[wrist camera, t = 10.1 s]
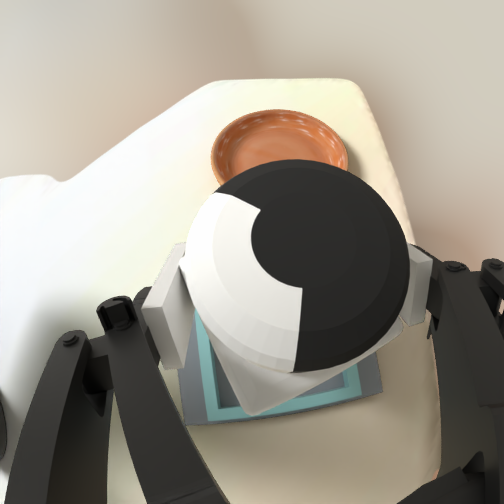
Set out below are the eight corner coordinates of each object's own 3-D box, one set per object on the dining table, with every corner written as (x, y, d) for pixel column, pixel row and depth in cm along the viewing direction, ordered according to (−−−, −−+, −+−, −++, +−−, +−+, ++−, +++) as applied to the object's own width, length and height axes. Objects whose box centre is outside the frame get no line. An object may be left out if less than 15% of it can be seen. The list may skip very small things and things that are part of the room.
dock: (188, 423, 24) (180, 427, 21) (174, 284, 29) (165, 275, 27) (378, 391, 24) (388, 392, 21) (348, 257, 29) (354, 245, 27)
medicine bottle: (306, 254, 20) (339, 108, 9) (359, 348, 17) (481, 292, 6) (207, 301, 19) (126, 189, 8) (256, 403, 16) (229, 452, 5)
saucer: (347, 136, 37) (351, 120, 34) (337, 236, 31) (343, 222, 28) (234, 118, 39) (232, 102, 37) (196, 208, 33) (190, 193, 30)
